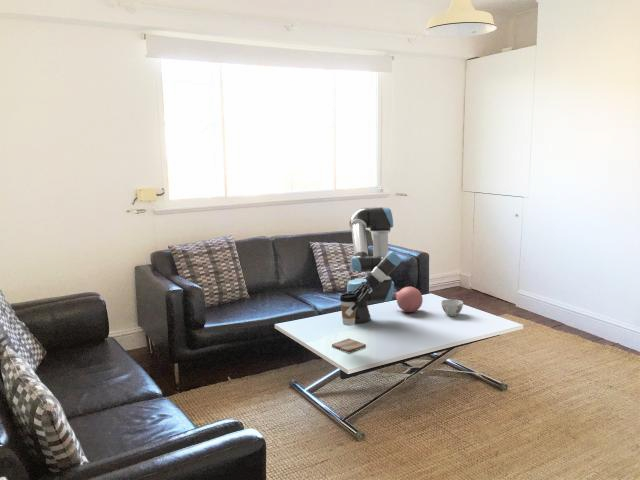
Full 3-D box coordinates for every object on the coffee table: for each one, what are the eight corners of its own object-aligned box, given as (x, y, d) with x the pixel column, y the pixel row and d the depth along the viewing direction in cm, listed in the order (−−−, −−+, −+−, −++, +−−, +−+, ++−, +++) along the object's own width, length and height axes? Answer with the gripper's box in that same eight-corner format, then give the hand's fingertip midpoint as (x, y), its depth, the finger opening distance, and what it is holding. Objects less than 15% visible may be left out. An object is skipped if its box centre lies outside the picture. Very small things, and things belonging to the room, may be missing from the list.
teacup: (445, 310, 325) (446, 297, 324) (466, 313, 318) (466, 300, 317) (436, 317, 313) (436, 303, 312) (456, 320, 306) (457, 307, 305)
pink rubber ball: (399, 305, 338) (399, 281, 335) (427, 311, 325) (427, 286, 322) (385, 311, 327) (385, 286, 324) (413, 317, 313) (414, 291, 311)
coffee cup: (356, 326, 263) (355, 297, 260) (339, 326, 265) (338, 296, 262) (358, 321, 271) (358, 292, 268) (341, 320, 273) (341, 292, 270)
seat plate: (331, 346, 270) (331, 344, 270) (348, 340, 278) (348, 338, 278) (348, 353, 262) (348, 350, 261) (365, 346, 270) (365, 344, 269)
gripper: (387, 287, 258) (355, 323, 258) (374, 277, 278) (344, 310, 277) (377, 277, 256) (344, 313, 256) (364, 268, 276) (334, 301, 275)
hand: (344, 311), depth 266 cm, fingers closed on coffee cup, 8 cm apart
